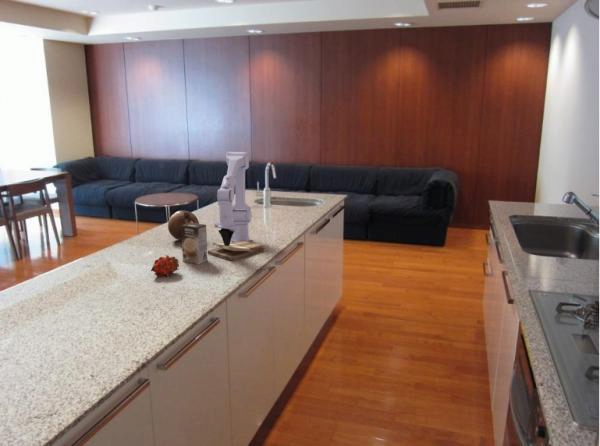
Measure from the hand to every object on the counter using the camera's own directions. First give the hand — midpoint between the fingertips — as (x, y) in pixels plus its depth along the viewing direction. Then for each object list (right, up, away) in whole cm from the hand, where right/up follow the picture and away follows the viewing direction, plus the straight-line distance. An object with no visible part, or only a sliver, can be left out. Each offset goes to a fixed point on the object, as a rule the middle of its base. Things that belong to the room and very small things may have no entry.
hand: (227, 245), depth 219 cm
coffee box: (-13, -7, -7) cm, 16 cm away
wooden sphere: (-25, +1, +25) cm, 36 cm away
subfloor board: (+4, -3, +5) cm, 7 cm away
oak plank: (+2, -1, +3) cm, 3 cm away
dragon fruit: (-21, -11, -25) cm, 34 cm away
